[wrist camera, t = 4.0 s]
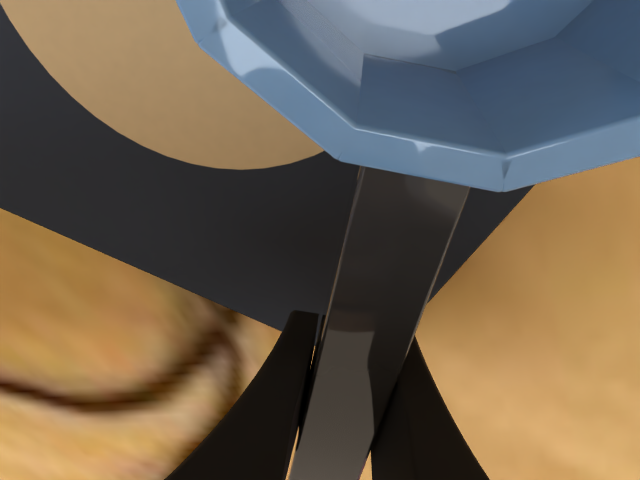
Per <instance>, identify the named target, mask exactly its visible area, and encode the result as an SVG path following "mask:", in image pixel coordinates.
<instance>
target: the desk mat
mask: <svg viewBox="0 0 640 480" xmlns="http://www.w3.org/2000/svg"><path fill="white" fill-rule="evenodd" d="M355 168H356V164H351V163H345V162H341V161H339V160H337V159H335V158H333V157H332V156H331V155H330V154H328V153H327V152H326V151H325V150H323V149H322V148H321V147H320V146H319V145H317V144H316V143H315V142H314V141H313V140H311V139H310V138H309V137H308V136H306V135H305V134H304V133H303V132H302V131H300V130H299V129H298V128H297V127H295V126H294V125H293V124H292V123H291V122H289V121H288V120H287V119H286V118H285V117H283V116H282V115H281V114H280V113H278V112H277V111H276V110H275V109H274V108H272V107H271V106H270V105H269V104H267V103H266V102H265V101H264V100H263V99H261V98H260V97H259V96H258V95H256V94H255V93H254V92H253V91H252V90H250V89H249V88H248V87H247V86H246V85H244V84H243V83H242V82H241V81H239V80H238V79H237V78H236V77H235V76H233V75H232V74H231V73H230V72H228V71H227V70H226V69H225V68H224V67H222V66H221V65H220V64H219V63H218V62H216V61H215V60H214V59H213V58H211V57H210V56H209V55H208V54H207V53H205V52H204V51H203V50H202V49H200V47H199V46H198V44H197V43H196V42H195V41H194V39H193V37H192V34H191V32H190V30H189V28H188V26H187V24H186V22H185V20H184V18H183V15H182V13H181V11H180V9H179V7H178V5H177V3H176V1H175V0H0V208H2V209H4V210H6V211H9V212H11V213H13V214H15V215H18V216H20V217H22V218H25V219H27V220H29V221H31V222H34V223H36V224H38V225H41V226H43V227H45V228H47V229H50V230H52V231H54V232H56V233H59V234H61V235H63V236H66V237H68V238H70V239H72V240H75V241H77V242H79V243H82V244H84V245H86V246H88V247H91V248H93V249H95V250H97V251H100V252H102V253H104V254H107V255H109V256H111V257H113V258H116V259H118V260H120V261H123V262H125V263H127V264H129V265H132V266H134V267H136V268H138V269H141V270H143V271H145V272H148V273H150V274H152V275H154V276H157V277H159V278H161V279H164V280H166V281H168V282H170V283H173V284H175V285H177V286H179V287H182V288H184V289H186V290H189V291H191V292H193V293H195V294H198V295H200V296H202V297H205V298H207V299H209V300H211V301H214V302H216V303H218V304H220V305H223V306H225V307H227V308H230V309H232V310H234V311H236V312H239V313H241V314H243V315H246V316H248V317H250V318H252V319H255V320H257V321H259V322H261V323H264V324H266V325H268V326H271V327H273V328H275V329H277V330H280V331H283V329H284V327H285V325H286V323H287V321H288V318H289V315H290V312H292V311H294V310H299V311H305V312H311V313H317V314H319V317H318V324H317V331H316V338H315V344H314V346H316V342H317V337H318V333H319V328H320V324H321V320H322V315H323V311H324V306H325V302H326V297H327V293H328V288H329V284H330V280H331V275H332V271H333V266H334V262H335V257H336V253H337V248H338V244H339V239H340V235H341V231H342V226H343V222H344V217H345V213H346V208H347V204H348V199H349V195H350V190H351V186H352V182H353V177H354V173H355ZM534 185H535V184H534ZM534 185H530V186H526V187H523V188H519V189H515V190H511V191H507V192H495V191H489V190H484V189H479V188H474V187H471V189H470V191H469V194H468V196H467V199H466V202H465V204H464V207H463V210H462V212H461V215H460V217H459V220H458V223H457V225H456V228H455V230H454V233H453V236H452V238H451V241H450V244H449V246H448V249H447V251H446V254H445V257H444V259H443V262H442V265H441V267H440V270H439V272H438V275H437V278H436V280H435V283H434V285H433V288H432V291H431V293H430V296H429V299H428V301H427V303H428V302H429V301H430V300H431V299H432V298H433V297H434V295H435V294H436V293H437V292H438V291H439V290H440V289H441V288H442V287H443V286H444V284H445V283H446V282H447V281H448V280H449V279H450V278H451V277H452V276H453V275H454V273H455V272H456V271H457V270H458V269H459V268H460V267H461V266H462V265H463V263H464V262H465V261H466V260H467V259H468V258H469V257H470V256H471V255H472V254H473V252H474V251H475V250H476V249H477V248H478V247H479V246H480V245H481V244H482V243H483V241H484V240H485V239H486V238H487V237H488V236H489V235H490V234H491V233H492V231H493V230H494V229H495V228H496V227H497V226H498V225H499V224H500V223H501V222H502V220H503V219H504V218H505V217H506V216H507V215H508V214H509V213H510V212H511V211H512V209H513V208H514V207H515V206H516V205H517V204H518V203H519V202H520V201H521V199H522V198H523V197H524V196H525V195H526V194H527V193H528V192H529V191H530V190H531V188H532V187H533V186H534Z"/></svg>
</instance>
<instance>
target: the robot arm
mask: <svg viewBox="0 0 640 480" xmlns="http://www.w3.org/2000/svg"><path fill="white" fill-rule="evenodd" d="M318 317H319V314H317V313H311V312H305V311H299V310H294V311H292V312H290V315H289V318H288V321H287V323H286V325H285V327H284V329H283V331H282V333H281V335H280V337H279V339H278V341H277V343H276V344H275V346H274V348H273V350H272V351H271V353H270V354H269V356H268V357H267V359H266V361H265V362H264V364H263V365H262V367H261V368H260V370H259V371H258V373H257V374H256V376H255V377H254V379H253V380H252V381H251V383H250V384H249V385H248V387H247V388H246V389H245V391H244V392H243V394H242V395H241V396H240V398H239V399H238V400H237V402H236V403H235V404H234V405H233V407H232V408H231V409H230V410H229V412H228V413H227V414H226V415H225V416H224V418H223V419H222V420H221V421H220V422H219V423H218V425H217V426H216V427H215V428H214V429H213V430H212V431H211V433H210V434H209V435H208V436H207V437H206V438H205V439H204V440H203V441H202V442H201V443H200V444H199V446H198V447H197V448H196V449H195V450H194V451H193V452H192V453H191V454H190V455H189V456H188V457H187V458H186V459H185V460H184V461H183V462H182V463H181V464H180V465H179V466H178V467H177V468H176V469H175V470H174V471H173V472H172V473H171V474H170V475H169V476H168V477H167V478H165V479H164V480H285V479H286V475H287V471H288V467H289V463H290V459H291V455H292V451H293V447H294V443H295V439H296V435H297V431H298V427H299V422H300V417H301V412H302V408H303V403H304V398H305V393H306V388H307V383H308V378H309V373H310V367H311V361H312V355H313V350H314V344H315V338H316V331H317V324H318ZM371 464H372V480H490V479H489V478H488V476H487V475H486V473H485V472H484V470H483V469H482V467H481V466H480V464H479V463H478V461H477V459H476V458H475V456H474V455H473V453H472V451H471V450H470V448H469V446H468V445H467V443H466V441H465V439H464V438H463V436H462V434H461V432H460V431H459V429H458V427H457V425H456V424H455V422H454V420H453V418H452V416H451V414H450V412H449V411H448V409H447V407H446V405H445V403H444V401H443V399H442V397H441V395H440V393H439V390H438V388H437V386H436V384H435V382H434V380H433V378H432V376H431V373H430V371H429V369H428V367H427V364H426V362H425V360H424V357H423V355H422V352H421V350H420V347H419V345H418V342H417V340H416V337H415V335H414V338H413V340H412V343H411V346H410V348H409V351H408V354H407V356H406V359H405V361H404V364H403V367H402V369H401V372H400V374H399V377H398V380H397V382H396V385H395V388H394V390H393V393H392V395H391V398H390V401H389V403H388V406H387V408H386V411H385V414H384V416H383V419H382V422H381V424H380V427H379V429H378V432H377V435H376V437H375V440H374V443H373V445H372V448H371Z"/></svg>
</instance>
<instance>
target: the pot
mask: <svg viewBox="0 0 640 480" xmlns="http://www.w3.org/2000/svg"><path fill="white" fill-rule="evenodd" d="M175 1H176V3H177V5H178V7H179V9H180V11H181V13H182V15H183V18H184V20H185V22H186V24H187V26H188V28H189V30H190V32H191V34H192V37H193V39H194V41H195V42H196V43H197V44H198V46H199V47H200V49H202V50H203V51H204V52H205V53H207V54H208V55H209V56H210V57H211V58H213V59H214V60H215V61H216V62H218V63H219V64H220V65H221V66H222V67H224V68H225V69H226V70H227V71H228V72H230V73H231V74H232V75H233V76H235V77H236V78H237V79H238V80H239V81H241V82H242V83H243V84H244V85H246V86H247V87H248V88H249V89H250V90H252V91H253V92H254V93H255V94H256V95H258V96H259V97H260V98H261V99H263V100H264V101H265V102H266V103H267V104H269V105H270V106H271V107H272V108H274V109H275V110H276V111H277V112H278V113H280V114H281V115H282V116H283V117H285V118H286V119H287V120H288V121H289V122H291V123H292V124H293V125H294V126H295V127H297V128H298V129H299V130H300V131H302V132H303V133H304V134H305V135H306V136H308V137H309V138H310V139H311V140H313V141H314V142H315V143H316V144H317V145H319V146H320V147H321V148H322V149H323V150H325V151H326V152H327V153H328V154H330V155H331V156H332V157H333V158H335V159H337V160H339V161H341V162H345V163H351V164H356V168H355V173H354V177H353V182H352V186H351V190H350V195H349V199H348V204H347V208H346V213H345V217H344V222H343V226H342V231H341V235H340V239H339V244H338V248H337V253H336V257H335V262H334V266H333V271H332V275H331V280H330V284H329V288H328V293H327V297H326V302H325V306H324V311H323V315H322V320H321V324H320V328H319V333H318V337H317V342H316V346H315V351H314V355H313V360H312V364H311V369H310V373H309V378H308V383H307V388H306V393H305V398H304V403H303V408H302V412H301V417H300V422H299V427H298V431H297V435H296V439H295V443H294V447H293V451H292V456H291V462H290V468H289V474H288V480H359V479H360V477H361V474H362V471H363V469H364V466H365V463H366V461H367V458H368V456H369V453H370V450H371V448H372V445H373V443H374V440H375V437H376V435H377V432H378V429H379V427H380V424H381V422H382V419H383V416H384V414H385V411H386V408H387V406H388V403H389V401H390V398H391V395H392V393H393V390H394V388H395V385H396V382H397V380H398V377H399V374H400V372H401V369H402V367H403V364H404V361H405V359H406V356H407V354H408V351H409V348H410V346H411V343H412V340H413V338H414V335H415V333H416V330H417V327H418V325H419V322H420V319H421V317H422V314H423V312H424V309H425V306H426V304H427V301H428V299H429V296H430V293H431V291H432V288H433V285H434V283H435V280H436V278H437V275H438V272H439V270H440V267H441V265H442V262H443V259H444V257H445V254H446V251H447V249H448V246H449V244H450V241H451V238H452V236H453V233H454V230H455V228H456V225H457V223H458V220H459V217H460V215H461V212H462V210H463V207H464V204H465V202H466V199H467V196H468V194H469V191H470V189H471V187H474V188H479V189H484V190H489V191H495V192H507V191H511V190H515V189H519V188H523V187H526V186H530V185H534V184H538V183H541V182H545V181H549V180H553V179H557V178H560V177H564V176H568V175H572V174H575V173H579V172H583V171H587V170H591V169H594V168H598V167H602V166H606V165H609V164H613V163H617V162H621V161H625V160H628V159H632V158H636V157H640V0H175Z"/></svg>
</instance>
